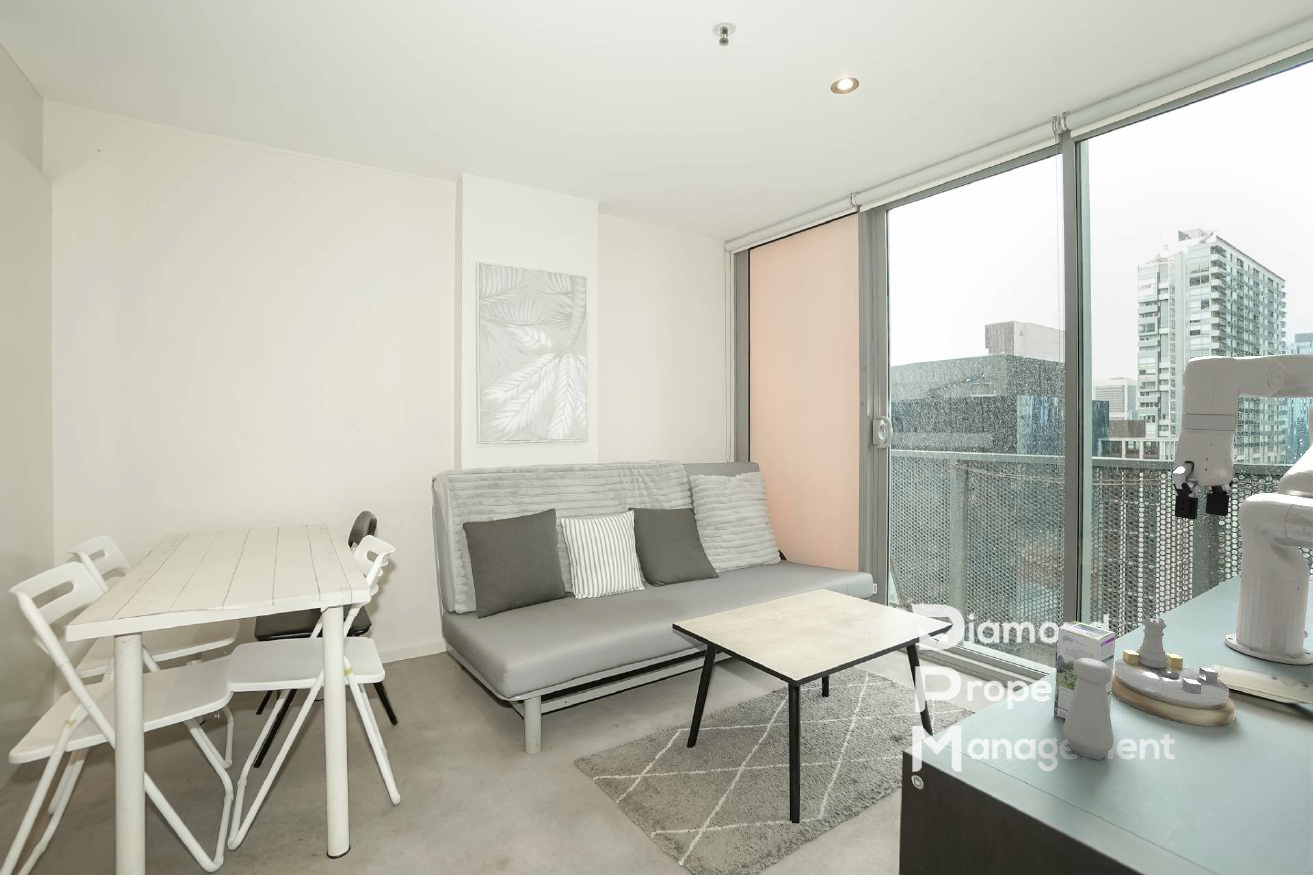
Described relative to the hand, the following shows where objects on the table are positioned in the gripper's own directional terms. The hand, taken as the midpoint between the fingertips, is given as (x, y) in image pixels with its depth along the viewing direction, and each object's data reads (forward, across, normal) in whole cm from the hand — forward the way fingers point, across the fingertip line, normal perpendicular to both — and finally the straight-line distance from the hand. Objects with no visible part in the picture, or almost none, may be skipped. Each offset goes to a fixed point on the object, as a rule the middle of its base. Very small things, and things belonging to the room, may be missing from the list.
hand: (1201, 516), depth 112 cm
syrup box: (+28, +40, +6) cm, 49 cm away
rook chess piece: (+24, +18, +3) cm, 30 cm away
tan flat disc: (+28, +20, +7) cm, 35 cm away
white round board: (+26, +20, +7) cm, 34 cm away
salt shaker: (+28, +48, +12) cm, 57 cm away
